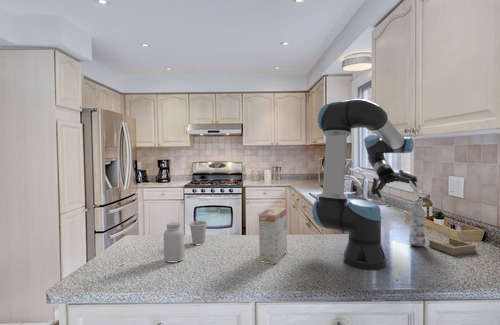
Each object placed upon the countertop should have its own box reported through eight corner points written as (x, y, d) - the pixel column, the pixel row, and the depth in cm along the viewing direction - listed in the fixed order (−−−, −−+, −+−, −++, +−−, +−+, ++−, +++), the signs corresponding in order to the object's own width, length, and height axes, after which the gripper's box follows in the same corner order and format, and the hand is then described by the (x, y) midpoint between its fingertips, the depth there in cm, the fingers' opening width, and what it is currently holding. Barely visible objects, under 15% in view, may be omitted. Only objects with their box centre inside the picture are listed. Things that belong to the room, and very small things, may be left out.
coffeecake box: (272, 250, 123) (271, 206, 122) (287, 252, 120) (287, 207, 119) (258, 262, 110) (257, 213, 109) (275, 265, 106) (274, 214, 106)
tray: (454, 255, 112) (454, 248, 112) (428, 246, 124) (428, 239, 124) (476, 252, 115) (476, 245, 115) (449, 243, 127) (449, 237, 127)
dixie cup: (202, 247, 128) (201, 225, 128) (186, 245, 131) (186, 224, 131) (210, 241, 136) (210, 221, 136) (195, 240, 139) (195, 220, 139)
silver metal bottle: (420, 243, 128) (421, 200, 127) (428, 248, 121) (429, 203, 120) (406, 243, 128) (406, 200, 128) (413, 248, 122) (413, 203, 121)
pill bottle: (178, 254, 119) (177, 220, 119) (188, 259, 114) (187, 223, 113) (160, 259, 114) (159, 223, 113) (170, 265, 108) (169, 227, 108)
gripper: (411, 168, 140) (431, 193, 121) (361, 184, 146) (373, 210, 128) (408, 156, 136) (429, 180, 118) (357, 173, 143) (369, 198, 125)
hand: (400, 196), depth 123 cm, fingers open, 13 cm apart
